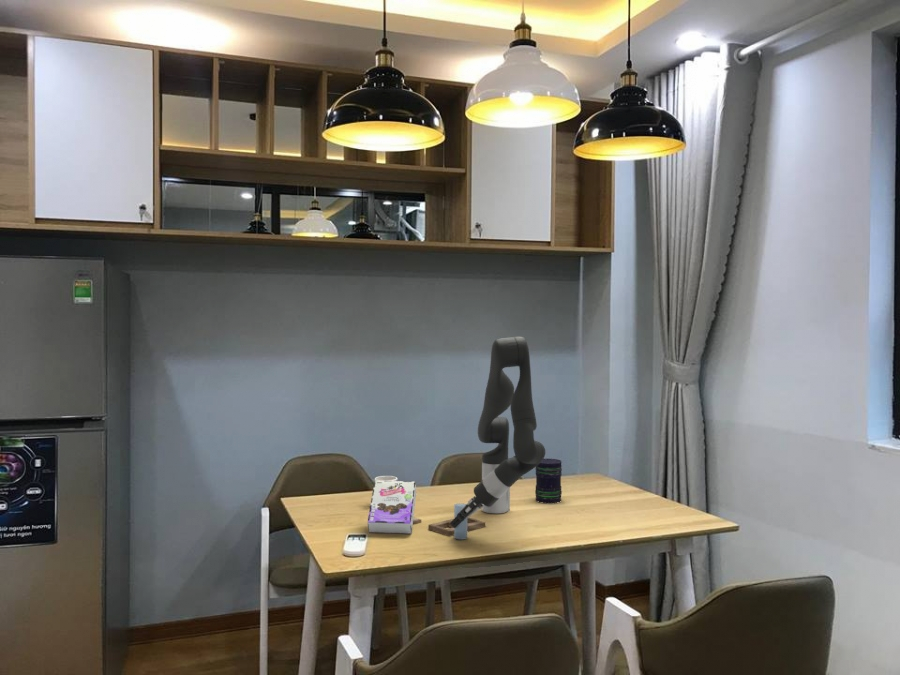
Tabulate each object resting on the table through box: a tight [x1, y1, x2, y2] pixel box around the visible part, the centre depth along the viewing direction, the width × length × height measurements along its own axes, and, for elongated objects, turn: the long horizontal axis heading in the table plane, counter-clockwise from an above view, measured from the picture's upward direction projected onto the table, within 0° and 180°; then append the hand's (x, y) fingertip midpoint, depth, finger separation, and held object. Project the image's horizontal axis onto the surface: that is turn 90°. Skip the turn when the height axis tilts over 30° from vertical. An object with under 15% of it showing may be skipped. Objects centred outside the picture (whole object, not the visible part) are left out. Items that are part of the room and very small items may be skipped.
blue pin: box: [453, 503, 468, 540], centre depth 218 cm, size 4×4×10 cm
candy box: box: [366, 480, 418, 535], centre depth 228 cm, size 14×6×16 cm
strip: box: [413, 516, 422, 525], centre depth 235 cm, size 7×4×8 cm, turn 133°
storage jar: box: [534, 458, 563, 504], centre depth 267 cm, size 10×10×15 cm
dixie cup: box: [374, 475, 398, 482], centre depth 259 cm, size 8×8×10 cm
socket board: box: [427, 516, 486, 537], centre depth 230 cm, size 16×10×2 cm, turn 133°
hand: (454, 523), depth 219 cm, fingers closed on blue pin, 4 cm apart
